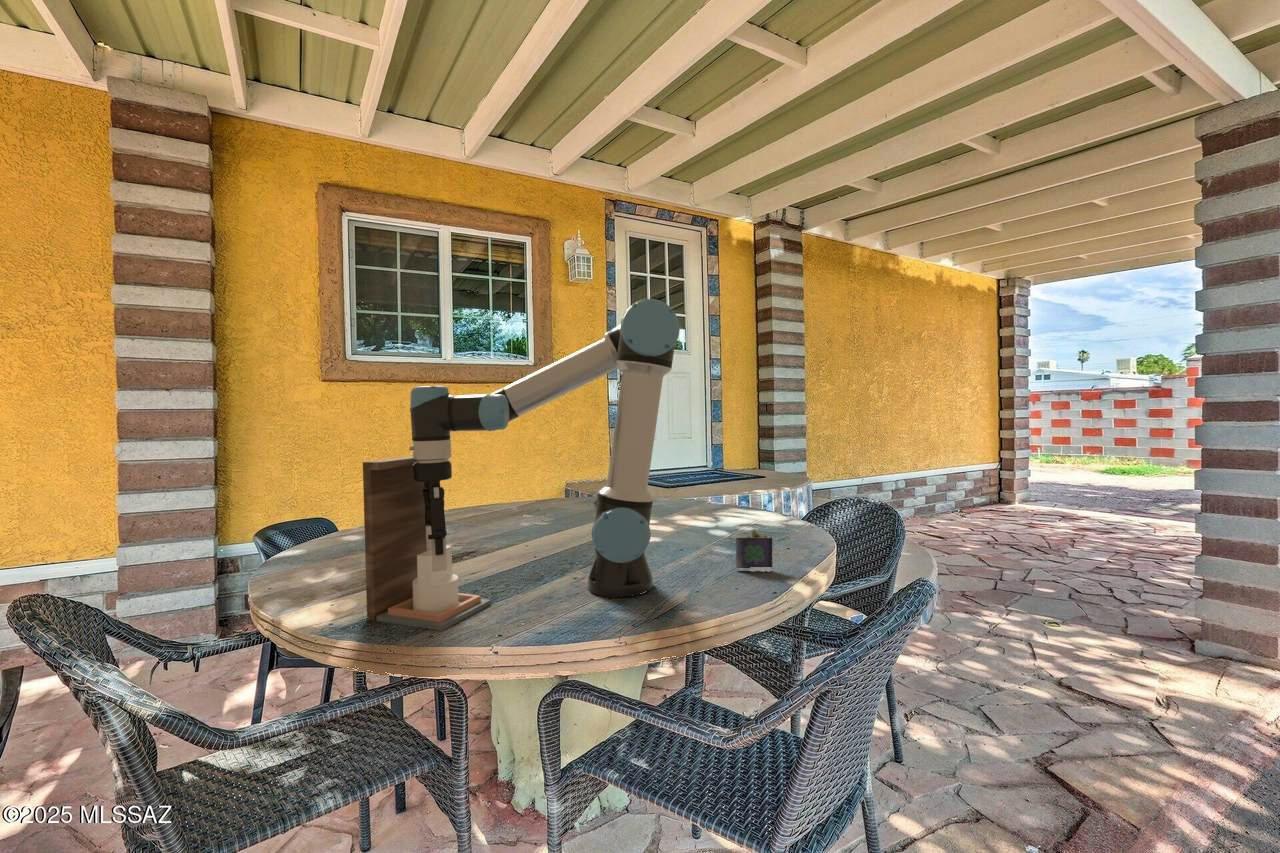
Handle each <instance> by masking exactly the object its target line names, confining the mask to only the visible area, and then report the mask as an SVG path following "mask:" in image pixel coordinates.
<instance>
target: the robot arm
mask: <svg viewBox="0 0 1280 853" xmlns="http://www.w3.org/2000/svg"><path fill="white" fill-rule="evenodd" d="M680 331H681V330H680V322H679V318H678V317H677V314H676V312H675V311H674V309H673V308H672V307H671V306H670V305H668V304H667V303H665V302H664V301H661V300H659V299H654V298H646V299H641V300H638V301H636V302H635V303H633V304H632V305H630V306H629V307H628V308H627V309H626V310H625V311H624V313H623V316H622V317H621V321H620V324H619V325H617V326H615V327H614V328H613V329H611V330H609V331H606V332H604V335H603V338H602V339H600V340H598V341H596V342H594V343H592V344H590V345H587V346H585V347H584V348H582V349H580V350H578V351H576V352H574V353H571V354H570V355H567V356H566V357H564V358H561V359H560V360H559V359H558V361H555V362H554V363H551V364H549V365H547V366H545V367H543V368H541V369H539V370H537V371H534V372H533V373H531V374H528V375H526V376H525V377H523V378H520V379H518V380H516V381H514V382H512V383H510V384H508V385H505V386H504V387H503V388H499V389H497V390H495V391H494V392H491V393H482V394H481V393H480V394H461V395H459V394H456V395H455V394H450V392H449V388H448V387H447V386H445V385H433V386H432V385H424V386H423V385H422V386H415V387H413V388H412V389H411V390H410V407H409V412H410V425H411V426H410V427H411V440H412V441H411V442H412V445H410V446H409V447H408V450H409V451H412V456H413V459H414V460H416V463H414V464H413V477H414V480H415V481H419V482H425V483H424V485H425V489H423V497H424V505H425V524H426V525H428V526H426V543H427V551H428V550H430V549H431V552H432V572H435V571H443V570H447V558H446V546H447V540H446V538H447V537H446V536H447V535H448V531H447V529H446V514H445V488H443V486H441V482H442V481H447V480H450V479H452V477H453V472H452V471H453V470H452V468H453V467H452V466H453V465H452V462H451V460H449V459H451V458H452V441H451V440H452V439H451V432H477V431H478V432H479V431H485V432H487V431H488V432H494V431H499V430H502V431H503V430H505V429H507V427H508V426H509V425H508V424H509V423H510V422H511V421H513V420H516V419H517V418H519V417H521V416H523V415H525V414H528V413H529V412H532V411H533V410H536V409H537V408H539V407H542V406H544V405H546V404H548V403H550V402H551V401H553V400H556V399H559V398H560V397H562V396H564V395H566V394H568V393H571V392H573V391H575V390H576V389H579V388H581V387H583V386H584V385H587V384H589V383H591V382H593V381H595V380H597V379H599V378H601V377H603V376H605V375H607V374H610V373H611V372H613V371H616V370H620V371H621V372H622V373H621V379H620V388H619V394H618V400H617V408H616V416H615V423H614V431H613V437H612V444H611V452H610V457H609V459H610V460H609V466H608V471H607V481H606V484H605V485H604V486H603V487H602V488H601V489H599V490H598V491H596V492H595V493H594V500H593V505H594V521H593V525H592V529H591V538H592V543H593V545H594V548H595V549H594V551H595V552H594V553H595V554H594V559H593V562H592V565H591V568H590V570H589V571H590V572H589V575H588V579H587V580H588V581H587V583H588V584H587V588H588V591H589V592H590V593H592V594H594V595H597V596H601V597H606V596H607V597H606V598H624V597H623V596H631V597H633V596H632V595H637V594H640V593H643V592H645V591H648V590H649V589H651V588H652V586H654V584H653V583H654V581H653V579H654V578H653V575H652V572H651V570H650V566H649V563H648V560H647V557H646V550H647V548H648V546H649V543H650V540H651V535H652V534H651V527H650V524H651V517H652V509H653V502H654V497H653V496H652V495H651V494H650V492H649V490H648V486H649V479H650V473H651V472H650V471H651V465H652V458H653V451H654V445H655V444H654V443H655V436H656V430H657V429H656V428H657V423H658V422H657V421H658V414H659V408H660V400H661V393H662V388H663V381H664V380H663V379H664V377H665V376H666V375H667V374H668V373H669V372H671V371H672V369H673V367H672V366H673V360H674V353H675V346H676V343H677V341H678V339H679V336H680ZM652 589H653V588H652ZM652 589H651V590H652ZM637 596H638V595H637Z"/></svg>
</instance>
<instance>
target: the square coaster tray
mask: <svg viewBox="0 0 1280 853" xmlns="http://www.w3.org/2000/svg"><path fill="white" fill-rule="evenodd" d="M458 597H459V604H458V605H456V606H454V607H452V608H450V609H448V610H446V611H444V612H442V613H440V614H437V613H430V612H423V611H416V610H413V598H411V599H409V600H407V601H404V602H402V603H400V604H397V605H395V606H393V607H390V608H388V611H387V612H385V613H382V614H380V615H378V616H377V620H376V622H380V623H381V622H382V623H387V624H395V625H401V626H406V625H407V626H408V627H412V626H415V627H414V628H419V627H422V628H421V629H425V628H428V629H427V630H431V629H434V630H433V631H437V632H442V631H444V630H447V629H448V628H449V627H451V626H454V625H456V624H457V623H459V622H461V621H463V620H465V619H467V618H468V617H470V616H472V615H474V614H475V613H476V614H477V613H478V612H480V611H481V610H483V609H486V607H489V606H491V605H492V601H491V599H487V598H481V597H482V595H477V594H470V593H461V592H458ZM407 626H406V627H407Z"/></svg>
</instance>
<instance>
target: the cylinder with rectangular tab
mask: <svg viewBox="0 0 1280 853" xmlns="http://www.w3.org/2000/svg"><path fill="white" fill-rule="evenodd" d="M452 556H453V553H452V545H446V558H447V570H443V571H435V572H432V552H431V549H430V550H428V551H426V552H424V553H421V554H419V555H417V573H418V577H417V578H415V579H414V580H413V581H412V586H413V610H416V611H423V612H430V613H437V614H440V613H442V612H444V611H446V610H448V609H450V608H452V607H454V606H456V605H458V604H459V597H458V593H459V576H458V575H457V574H456V573H455V574H454V573H453V557H452Z"/></svg>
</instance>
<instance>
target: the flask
mask: <svg viewBox="0 0 1280 853" xmlns="http://www.w3.org/2000/svg"><path fill="white" fill-rule="evenodd" d="M756 531H757V529H756V528H754V529H750V535H737V536H736V537H735V568H736V567H737V568H750V567H772V568H773V537H772V536H770V535H766V534H764V533H763V534H762V533H761V534H760V533H758V532H756Z"/></svg>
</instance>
